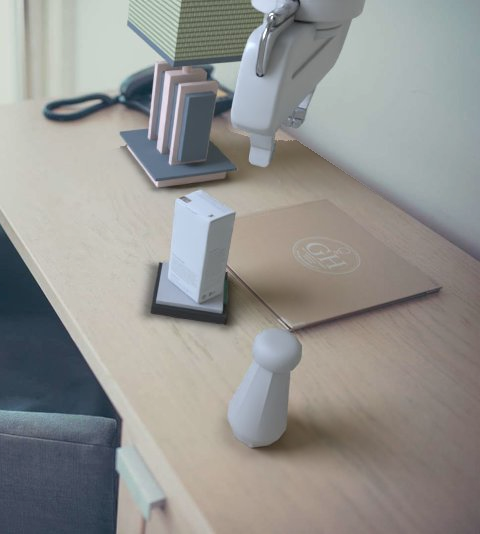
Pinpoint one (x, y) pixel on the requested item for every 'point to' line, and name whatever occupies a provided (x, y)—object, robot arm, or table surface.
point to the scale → (186, 300)
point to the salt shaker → (265, 389)
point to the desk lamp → (186, 83)
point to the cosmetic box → (200, 245)
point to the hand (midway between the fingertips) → (277, 142)
